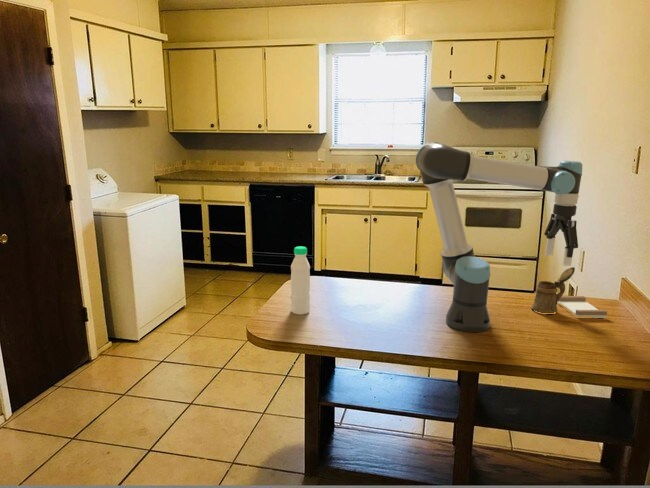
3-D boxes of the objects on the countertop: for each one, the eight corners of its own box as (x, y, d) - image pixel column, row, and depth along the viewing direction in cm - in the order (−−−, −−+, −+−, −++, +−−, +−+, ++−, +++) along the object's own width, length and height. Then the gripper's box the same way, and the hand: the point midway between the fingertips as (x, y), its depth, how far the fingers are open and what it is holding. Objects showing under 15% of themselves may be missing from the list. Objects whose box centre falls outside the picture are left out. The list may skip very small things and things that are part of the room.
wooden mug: (572, 316, 184) (579, 270, 180) (535, 314, 185) (541, 269, 181) (564, 307, 193) (570, 263, 188) (528, 306, 194) (534, 262, 190)
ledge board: (576, 318, 182) (578, 311, 181) (555, 303, 198) (556, 296, 197) (605, 318, 183) (607, 311, 182) (582, 303, 198) (583, 296, 197)
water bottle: (310, 308, 188) (311, 245, 181) (308, 315, 181) (308, 250, 175) (292, 307, 188) (292, 244, 182) (289, 314, 182) (289, 249, 175)
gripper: (595, 210, 167) (585, 270, 172) (558, 198, 191) (551, 251, 196) (573, 210, 167) (564, 270, 172) (539, 198, 191) (532, 251, 196)
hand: (557, 260), depth 184 cm, fingers open, 13 cm apart
